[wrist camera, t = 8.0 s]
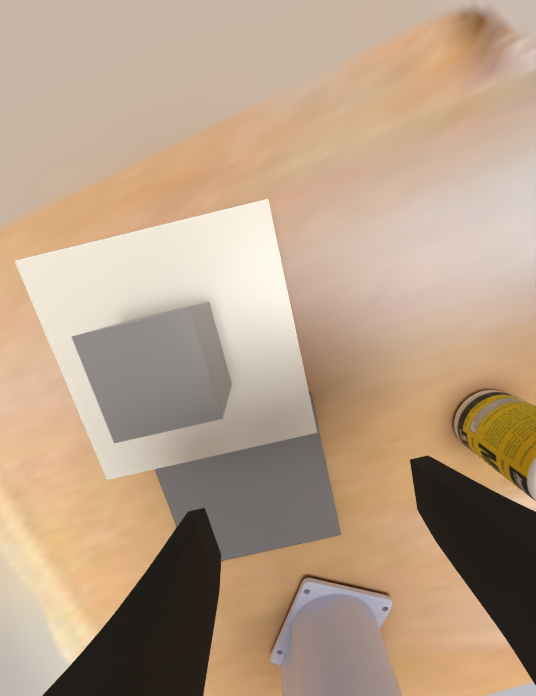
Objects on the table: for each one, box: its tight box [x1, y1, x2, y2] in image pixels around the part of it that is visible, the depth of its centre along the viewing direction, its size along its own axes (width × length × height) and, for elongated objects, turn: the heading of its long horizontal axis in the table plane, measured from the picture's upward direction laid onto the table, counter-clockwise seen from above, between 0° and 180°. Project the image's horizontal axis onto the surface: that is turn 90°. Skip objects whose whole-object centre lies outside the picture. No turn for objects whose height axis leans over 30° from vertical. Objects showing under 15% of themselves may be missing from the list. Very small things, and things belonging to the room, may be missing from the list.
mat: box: [155, 392, 341, 561], centre depth 21 cm, size 12×12×1 cm
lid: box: [15, 199, 317, 480], centre depth 11 cm, size 11×11×4 cm
